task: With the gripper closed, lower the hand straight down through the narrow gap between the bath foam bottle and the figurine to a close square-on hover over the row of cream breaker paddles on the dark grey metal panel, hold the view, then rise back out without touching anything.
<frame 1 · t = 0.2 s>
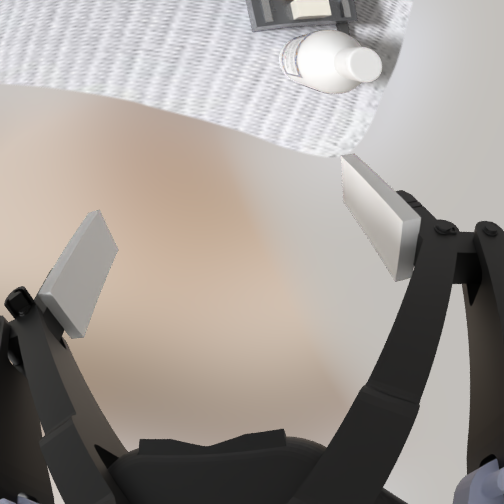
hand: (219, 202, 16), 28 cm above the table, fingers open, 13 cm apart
bath foam: (303, 60, 35), on the table
paddle d: (307, 10, 26), point 6 cm above the table, touching breaker panel
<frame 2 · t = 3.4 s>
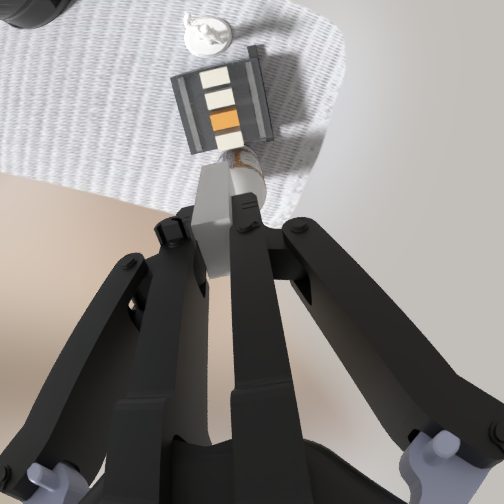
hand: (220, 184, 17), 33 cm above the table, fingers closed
dark grey slat: (260, 93, 44), on the table
figurine: (207, 36, 38), on the table
paddle b: (220, 96, 38), point 6 cm above the table, touching breaker panel
breaker panel: (222, 100, 44), on the table
paddle c: (224, 116, 40), point 6 cm above the table, touching breaker panel
paddle a: (215, 76, 36), point 6 cm above the table, touching breaker panel
bath foam: (237, 162, 51), on the table
paddle d: (229, 135, 42), point 6 cm above the table, touching breaker panel
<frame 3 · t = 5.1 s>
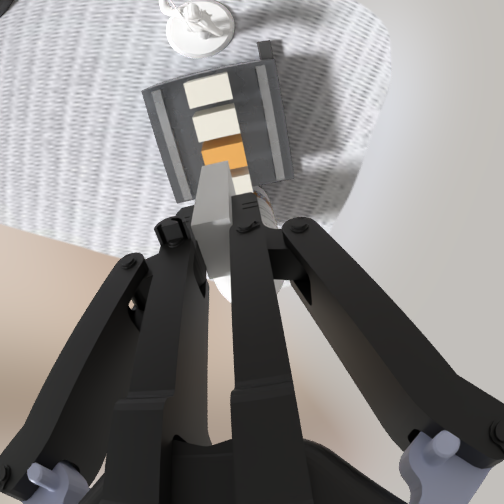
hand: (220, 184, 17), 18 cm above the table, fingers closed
dark grey slat: (275, 109, 31), on the table
figurine: (199, 28, 25), on the table
paddle b: (217, 118, 26), point 6 cm above the table, touching breaker panel
breaker panel: (221, 120, 32), on the table
paddle c: (224, 148, 28), point 6 cm above the table, touching breaker panel
paddle a: (209, 87, 24), point 6 cm above the table, touching breaker panel
bath foam: (241, 204, 38), on the table
paddle d: (231, 176, 29), point 6 cm above the table, touching breaker panel
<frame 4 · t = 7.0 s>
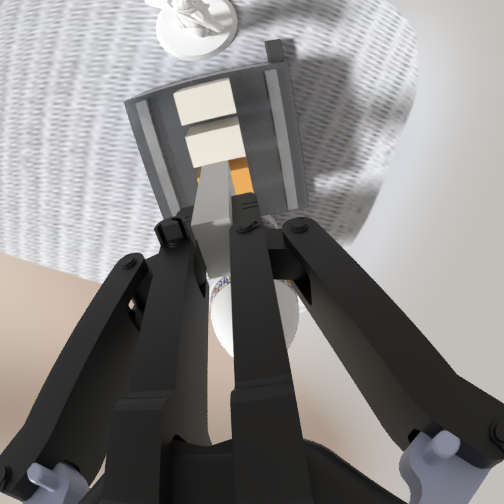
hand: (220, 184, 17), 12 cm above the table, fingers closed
dark grey slat: (286, 122, 27), on the table
figurine: (196, 24, 21), on the table
paddle b: (216, 135, 21), point 6 cm above the table, touching breaker panel
breaker panel: (222, 134, 27), on the table
paddle c: (225, 171, 23), point 6 cm above the table, touching breaker panel
paddle a: (207, 97, 20), point 6 cm above the table, touching breaker panel
bath foam: (245, 231, 34), on the table
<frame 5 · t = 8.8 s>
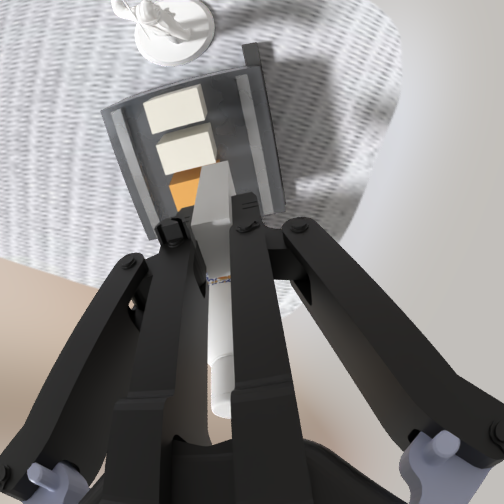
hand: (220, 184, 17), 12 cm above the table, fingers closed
dark grey slat: (264, 125, 27), on the table
figurine: (174, 30, 21), on the table
paddle b: (190, 141, 21), point 6 cm above the table, touching breaker panel
breaker panel: (201, 139, 27), on the table
paddle c: (200, 177, 23), point 6 cm above the table, touching breaker panel
paddle a: (180, 104, 20), point 6 cm above the table, touching breaker panel
bath foam: (227, 234, 34), on the table
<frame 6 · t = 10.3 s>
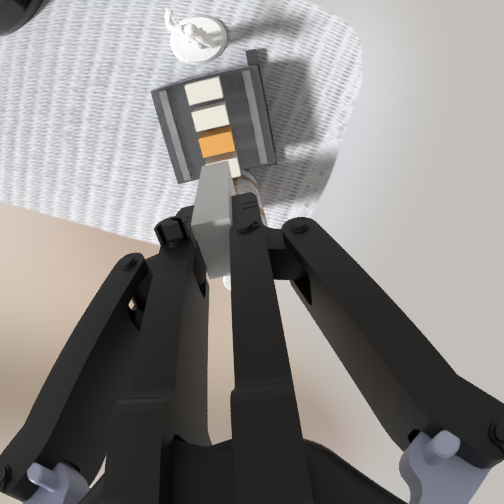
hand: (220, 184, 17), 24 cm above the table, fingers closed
dark grey slat: (261, 107, 37), on the table
figurine: (198, 39, 31), on the table
paddle b: (211, 113, 32), point 6 cm above the table, touching breaker panel
breaker panel: (216, 116, 37), on the table
paddle c: (217, 137, 33), point 6 cm above the table, touching breaker panel
paddle a: (205, 88, 30), point 6 cm above the table, touching breaker panel
bath foam: (233, 189, 44), on the table
paddle d: (223, 161, 35), point 6 cm above the table, touching breaker panel
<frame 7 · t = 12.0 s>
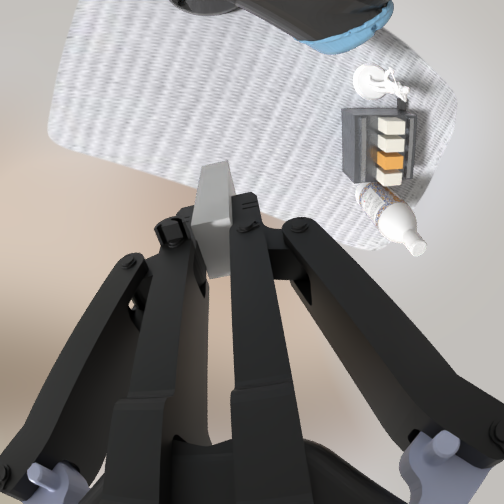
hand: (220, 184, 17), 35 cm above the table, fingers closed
dark grey slat: (399, 138, 51), on the table
figurine: (370, 81, 45), on the table
paddle b: (386, 140, 46), point 6 cm above the table, touching breaker panel
breaker panel: (372, 139, 51), on the table
paddle c: (386, 156, 47), point 6 cm above the table, touching breaker panel
paddle a: (387, 123, 44), point 6 cm above the table, touching breaker panel
bath foam: (369, 191, 58), on the table
paddle d: (385, 172, 49), point 6 cm above the table, touching breaker panel
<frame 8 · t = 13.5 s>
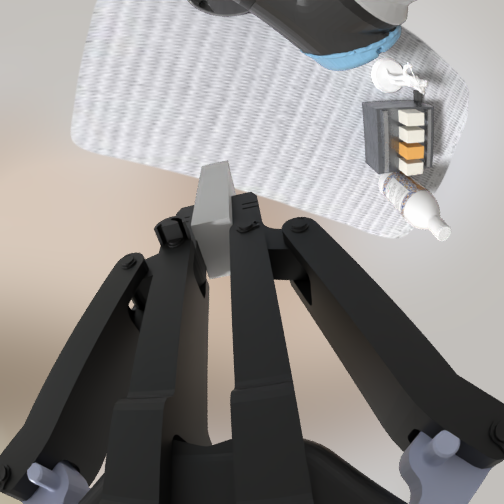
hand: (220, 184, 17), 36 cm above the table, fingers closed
dark grey slat: (416, 128, 51), on the table
figurine: (387, 75, 45), on the table
paddle b: (407, 131, 46), point 6 cm above the table, touching breaker panel
breaker panel: (391, 130, 51), on the table
paddle c: (407, 147, 47), point 6 cm above the table, touching breaker panel
paddle a: (406, 115, 44), point 6 cm above the table, touching breaker panel
bath foam: (391, 181, 58), on the table
paddle d: (407, 162, 49), point 6 cm above the table, touching breaker panel
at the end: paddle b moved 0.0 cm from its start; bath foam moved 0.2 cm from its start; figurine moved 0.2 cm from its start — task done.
